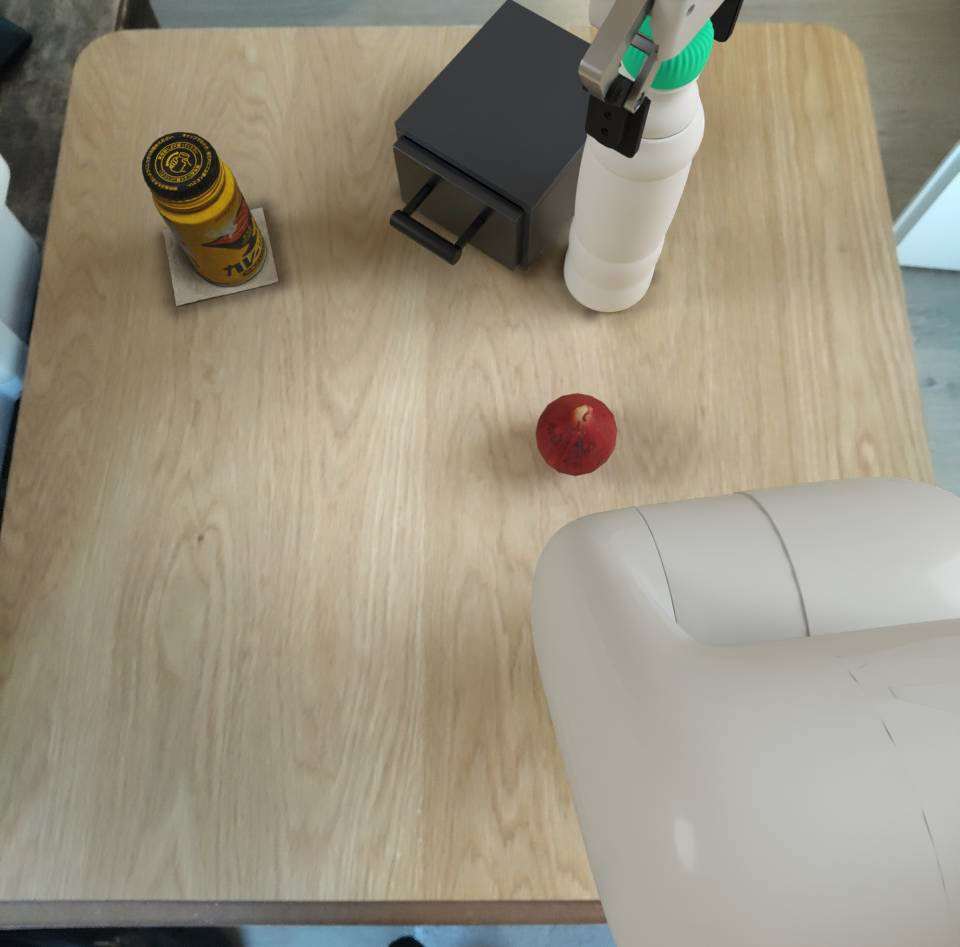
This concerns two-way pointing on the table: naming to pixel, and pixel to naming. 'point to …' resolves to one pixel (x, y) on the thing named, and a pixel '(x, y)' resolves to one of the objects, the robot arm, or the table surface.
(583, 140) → the cabinet
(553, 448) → the onion
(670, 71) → the water bottle
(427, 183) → the drawer
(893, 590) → the robot arm
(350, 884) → the table surface
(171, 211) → the condiment
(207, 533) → the table surface
